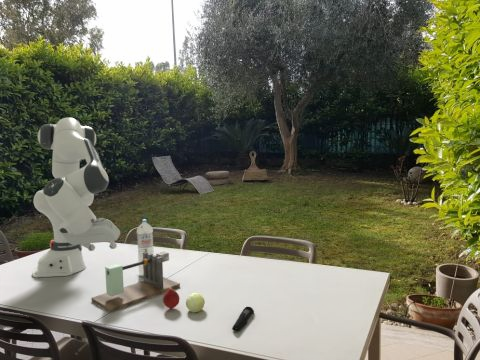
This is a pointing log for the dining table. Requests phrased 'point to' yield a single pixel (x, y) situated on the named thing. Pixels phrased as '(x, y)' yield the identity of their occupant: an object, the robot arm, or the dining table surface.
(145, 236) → the water bottle
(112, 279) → the sleeve
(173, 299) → the onion
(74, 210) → the robot arm
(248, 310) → the electric trimmer
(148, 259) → the cord rig
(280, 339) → the dining table surface
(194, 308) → the tennis ball
